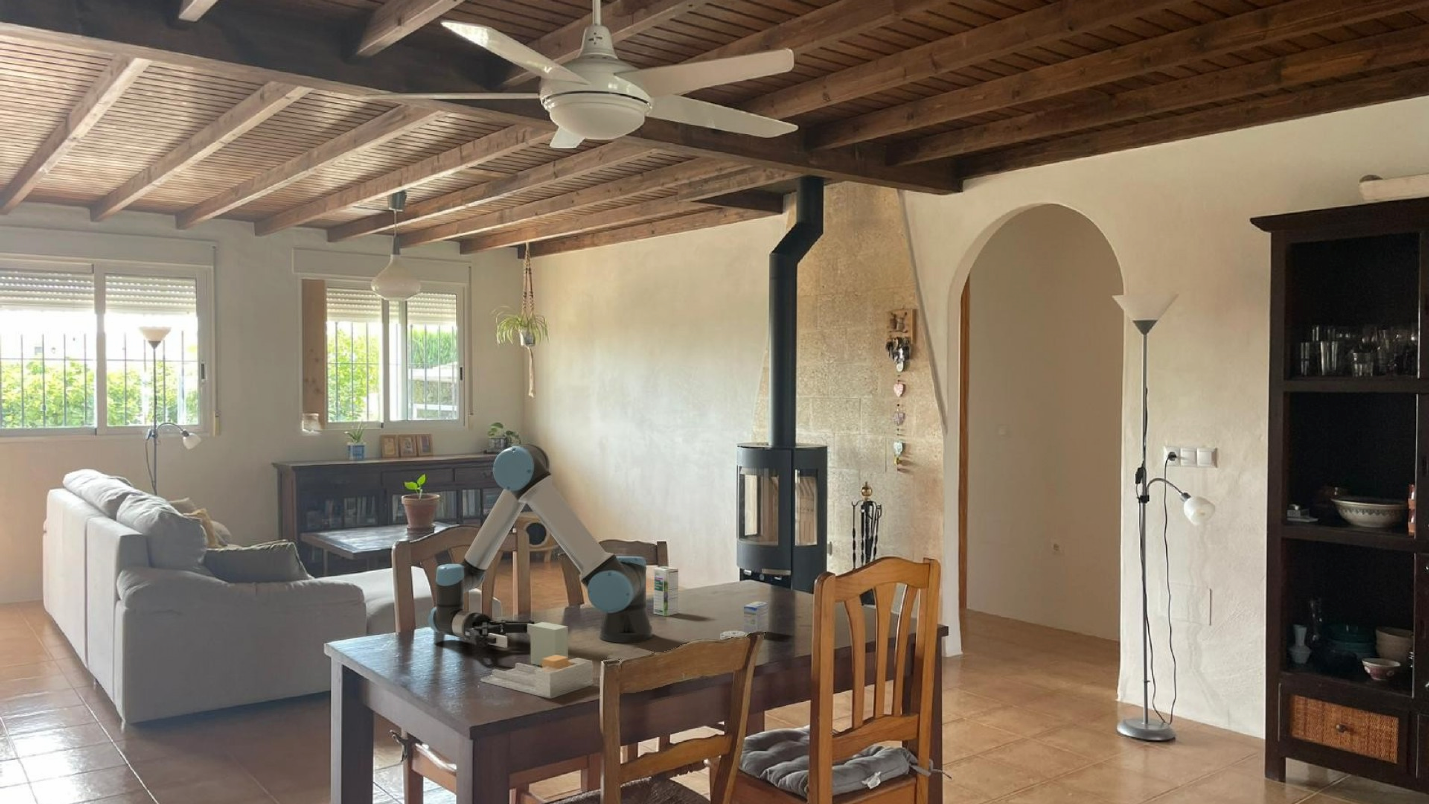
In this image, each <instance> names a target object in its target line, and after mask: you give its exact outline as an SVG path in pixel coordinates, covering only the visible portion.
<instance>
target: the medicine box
mask: <svg viewBox="0 0 1429 804" xmlns="http://www.w3.org/2000/svg"><path fill="white" fill-rule="evenodd" d="M769 604H770V603H768V602H765V601H753V602H751V603H748V604H746V605H744V606H743V632H744V633H747V634H748V633H749V632H754V631H764V632H766V633H767V632H769V617H770V615H769V614H770V613H769V610H770V608H769V606H770V605H769Z"/></svg>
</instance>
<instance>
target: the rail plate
mask: <svg viewBox="0 0 1429 804" xmlns="http://www.w3.org/2000/svg"><path fill="white" fill-rule="evenodd" d="M514 665H515V666H514V668H511V669H510V668H509V669H508V670H500V669H497V668H496V669H492V670H491V674H490V675H486V676H483V677H480V682H483V683H486V684H490V685H495V686H498V687H502V688H506V689H510V690H514V691H517V692H522V693H526V694H530V695H533V696H534V695H535V696H538V697H541V698H545V699H549V700H551V699H553V698H557V697H561V696H563V695H566V694H569V693H572V692H575V691H578V690H582V689H584V688H588V687H591V686H593V685H594V684H593V660H589V659H586V658H582V657H581V658H580V657H575V658H572V659H568V667H565V668H562V669H556V668H552V667H548V666H547V667H544V668H542V667H538V666H534V665H532V664H531V665H530V664H526V663H521V662H517V663H515V664H514Z"/></svg>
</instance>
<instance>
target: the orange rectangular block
mask: <svg viewBox="0 0 1429 804" xmlns="http://www.w3.org/2000/svg"><path fill="white" fill-rule="evenodd" d="M568 660H569V656H568V657H564V656H560V655H553V656H550V657H546V658H543V659H542V666H541V668H544V667H547V666H548V667H552V668H556V669H562V668H565V667H568Z"/></svg>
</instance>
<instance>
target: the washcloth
mask: <svg viewBox="0 0 1429 804" xmlns="http://www.w3.org/2000/svg"><path fill="white" fill-rule="evenodd" d="M654 652H655V651H651V650H648V649H644V648H640V647H636V648H632V649H630V650H628V651H618V652H616V653H612V654H609V655H607V660H608V659H618V660H620V659H621V660H622V659H626V658H636V657H640V656H642V655H649V654H650V653H654Z"/></svg>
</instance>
